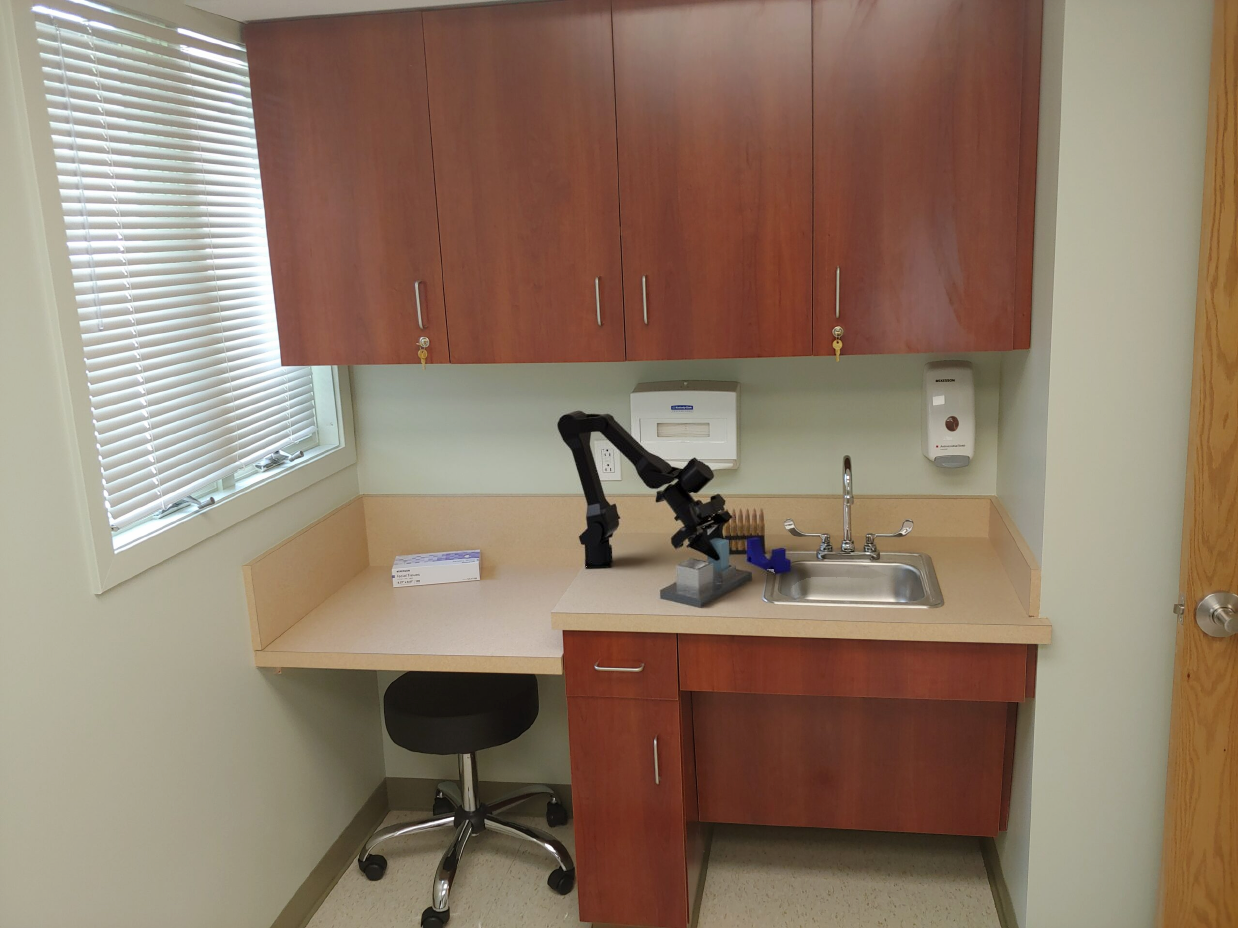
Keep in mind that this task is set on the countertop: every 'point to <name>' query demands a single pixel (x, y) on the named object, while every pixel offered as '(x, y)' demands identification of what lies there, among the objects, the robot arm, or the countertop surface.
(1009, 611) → the countertop surface
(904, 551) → the countertop surface
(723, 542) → the plug
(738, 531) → the ammunition clip
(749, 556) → the cable clip
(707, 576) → the grey peg holder base
